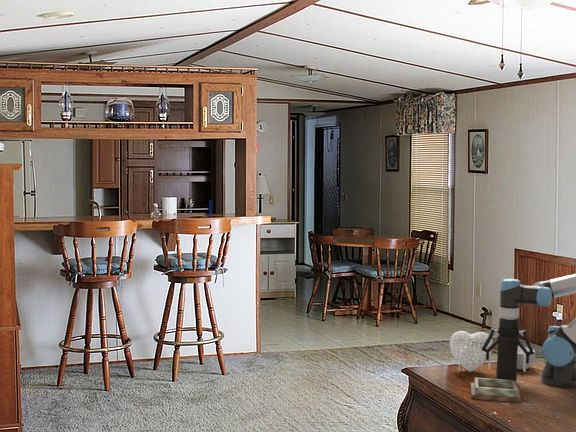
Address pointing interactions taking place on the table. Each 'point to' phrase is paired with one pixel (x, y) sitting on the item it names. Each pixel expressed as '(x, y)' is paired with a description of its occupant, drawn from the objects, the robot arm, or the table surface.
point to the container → (507, 358)
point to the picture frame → (495, 390)
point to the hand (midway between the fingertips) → (506, 370)
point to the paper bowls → (521, 357)
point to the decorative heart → (469, 349)
